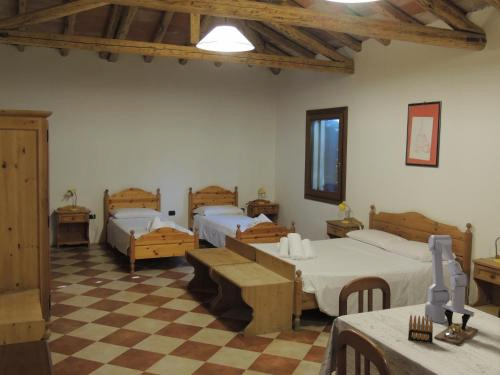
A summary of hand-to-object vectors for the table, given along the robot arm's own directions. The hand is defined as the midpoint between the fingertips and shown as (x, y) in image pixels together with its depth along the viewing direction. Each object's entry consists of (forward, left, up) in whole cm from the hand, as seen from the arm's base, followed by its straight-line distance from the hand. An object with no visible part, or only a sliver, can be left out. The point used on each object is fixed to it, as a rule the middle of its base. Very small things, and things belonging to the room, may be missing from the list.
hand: (456, 327), depth 239 cm
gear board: (0, 0, -4) cm, 4 cm away
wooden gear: (0, 0, -2) cm, 2 cm away
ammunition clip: (-9, -19, -4) cm, 21 cm away
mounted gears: (0, 0, -2) cm, 2 cm away
